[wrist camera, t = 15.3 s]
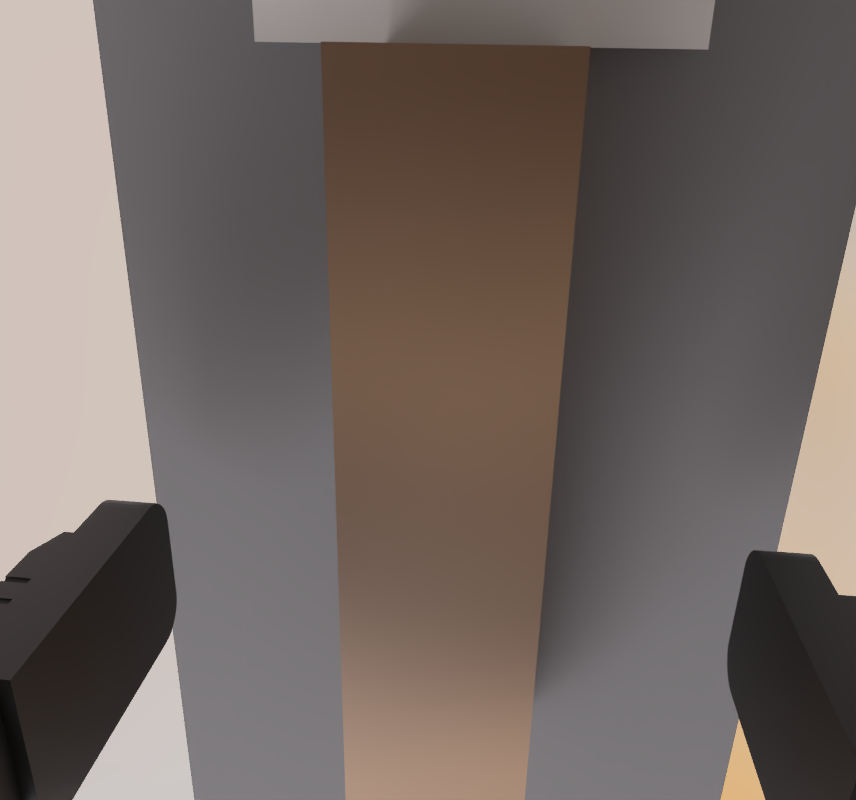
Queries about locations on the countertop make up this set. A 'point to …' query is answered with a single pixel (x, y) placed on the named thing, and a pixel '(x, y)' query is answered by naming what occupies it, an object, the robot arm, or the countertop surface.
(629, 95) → the mat
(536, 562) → the turner
